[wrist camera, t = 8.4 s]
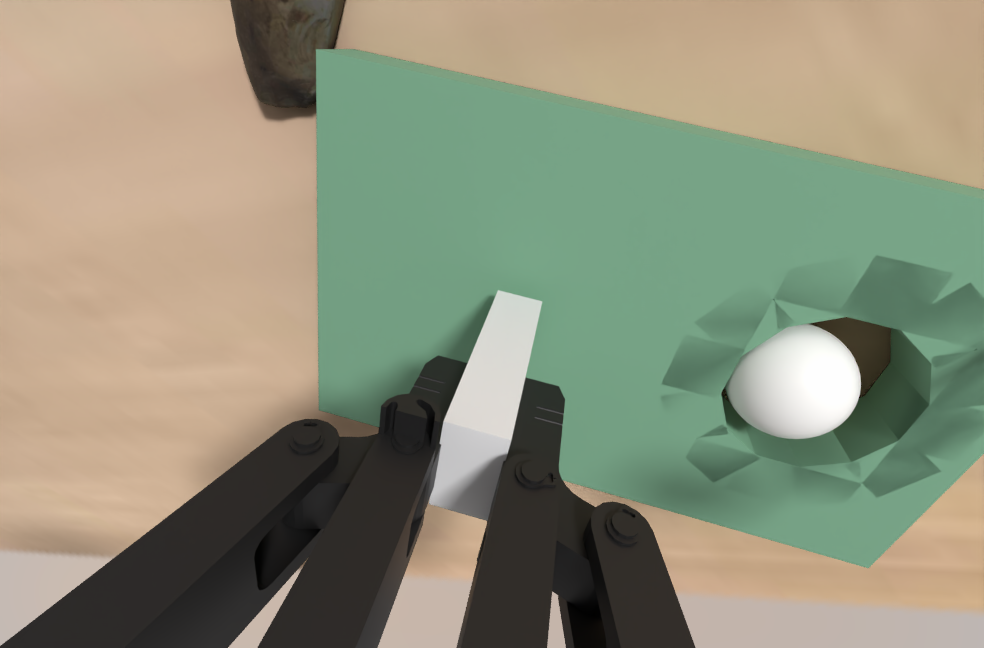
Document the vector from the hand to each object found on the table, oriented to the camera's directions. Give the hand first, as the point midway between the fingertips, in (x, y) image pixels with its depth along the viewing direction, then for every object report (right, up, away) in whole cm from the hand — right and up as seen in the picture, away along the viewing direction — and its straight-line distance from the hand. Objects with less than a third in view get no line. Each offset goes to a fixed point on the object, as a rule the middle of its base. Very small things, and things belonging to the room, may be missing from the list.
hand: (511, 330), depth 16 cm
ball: (+10, -2, 0) cm, 10 cm away
